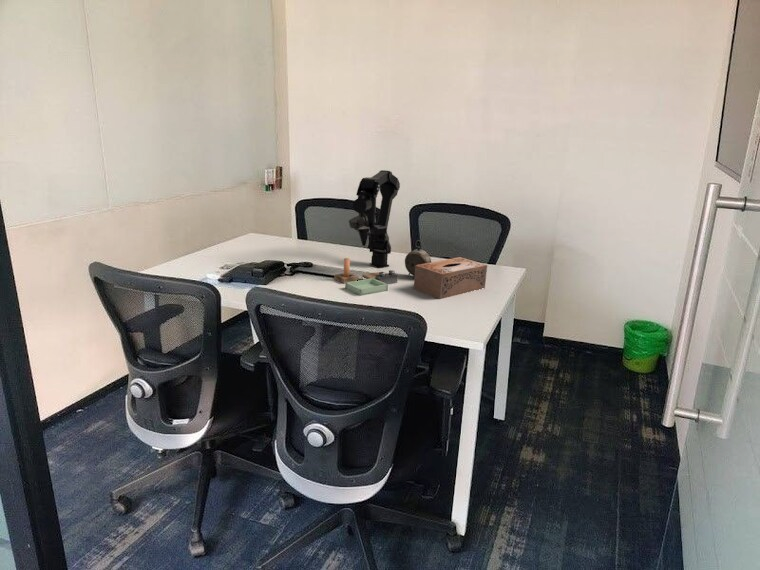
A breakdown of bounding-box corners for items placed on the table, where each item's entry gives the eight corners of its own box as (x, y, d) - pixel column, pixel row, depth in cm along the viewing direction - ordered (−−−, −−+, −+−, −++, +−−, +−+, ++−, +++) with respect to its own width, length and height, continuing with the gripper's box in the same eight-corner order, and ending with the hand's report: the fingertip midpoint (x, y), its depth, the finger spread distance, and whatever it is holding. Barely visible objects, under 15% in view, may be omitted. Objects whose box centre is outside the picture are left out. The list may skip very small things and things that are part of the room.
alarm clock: (430, 279, 237) (433, 241, 233) (424, 282, 233) (427, 243, 228) (408, 274, 243) (411, 237, 238) (401, 276, 239) (404, 239, 234)
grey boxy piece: (392, 280, 232) (393, 269, 231) (397, 282, 230) (397, 271, 229) (375, 283, 227) (375, 272, 226) (379, 285, 225) (380, 274, 223)
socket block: (348, 277, 235) (348, 272, 234) (358, 281, 229) (358, 276, 229) (334, 279, 230) (334, 274, 230) (343, 283, 225) (344, 278, 225)
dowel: (347, 279, 231) (347, 257, 229) (350, 280, 230) (351, 259, 227) (342, 280, 230) (342, 258, 227) (345, 281, 228) (346, 259, 226)
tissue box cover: (439, 299, 212) (442, 274, 210) (413, 289, 223) (415, 265, 220) (484, 288, 229) (487, 265, 226) (458, 280, 239) (460, 257, 236)
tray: (372, 283, 227) (372, 278, 226) (387, 290, 219) (388, 284, 219) (345, 288, 219) (345, 282, 219) (360, 295, 212) (360, 289, 211)
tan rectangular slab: (382, 277, 238) (382, 271, 237) (392, 281, 233) (392, 275, 232) (362, 280, 232) (362, 274, 232) (372, 284, 227) (372, 278, 226)
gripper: (339, 207, 233) (338, 244, 238) (366, 214, 219) (364, 253, 224) (361, 205, 240) (360, 241, 245) (388, 212, 226) (386, 250, 230)
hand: (367, 246), depth 236 cm, fingers open, 4 cm apart
